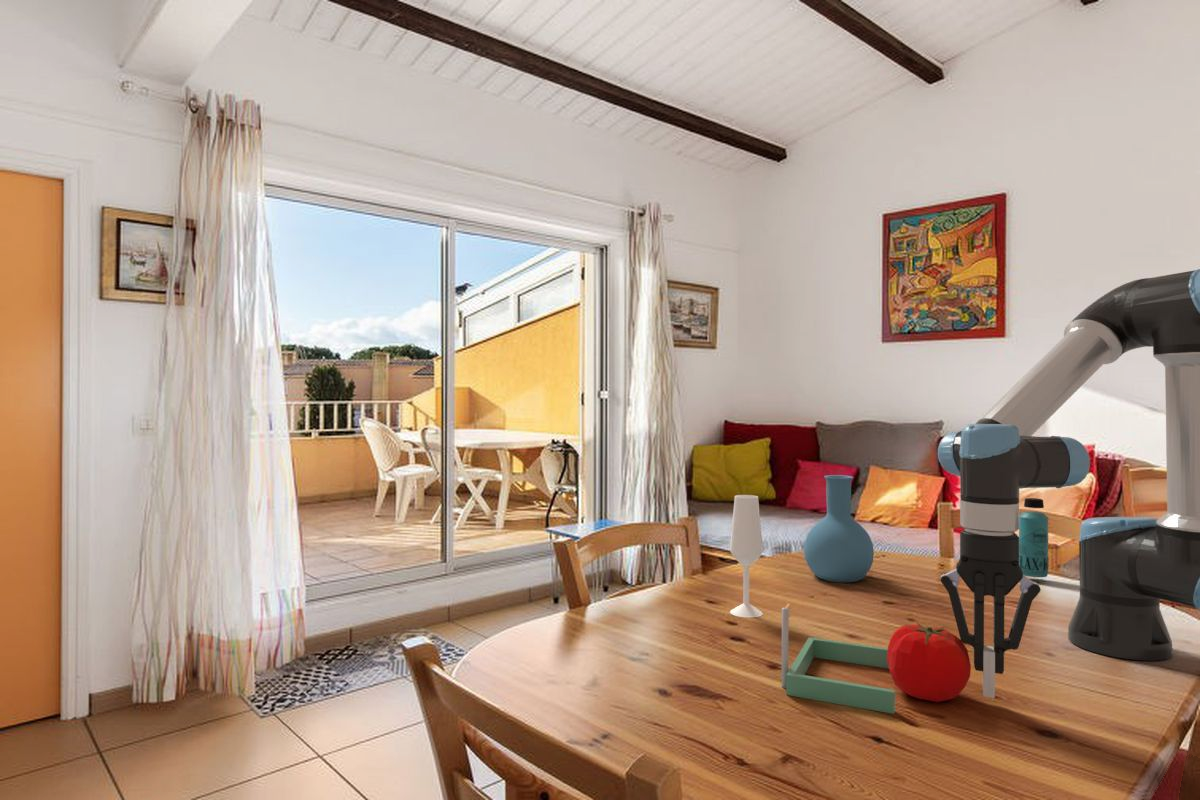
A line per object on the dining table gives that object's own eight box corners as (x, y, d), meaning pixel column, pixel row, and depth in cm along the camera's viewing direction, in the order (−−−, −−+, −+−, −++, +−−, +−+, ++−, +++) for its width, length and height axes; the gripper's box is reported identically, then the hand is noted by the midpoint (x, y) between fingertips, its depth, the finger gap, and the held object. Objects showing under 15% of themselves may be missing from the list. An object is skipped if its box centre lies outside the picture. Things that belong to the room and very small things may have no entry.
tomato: (868, 686, 112) (868, 619, 112) (923, 675, 116) (923, 610, 116) (932, 717, 101) (932, 643, 101) (990, 704, 106) (990, 633, 105)
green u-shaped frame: (902, 668, 119) (903, 595, 119) (894, 713, 102) (894, 628, 102) (801, 653, 126) (801, 584, 126) (777, 693, 109) (777, 613, 109)
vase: (880, 575, 182) (880, 475, 182) (866, 589, 168) (866, 481, 168) (814, 567, 191) (814, 471, 191) (795, 580, 177) (795, 477, 177)
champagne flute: (728, 616, 148) (728, 498, 148) (730, 607, 154) (730, 493, 154) (762, 618, 146) (762, 499, 146) (763, 609, 153) (763, 494, 153)
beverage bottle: (1011, 578, 179) (1011, 497, 179) (1032, 576, 181) (1032, 496, 181) (1034, 584, 173) (1034, 500, 173) (1055, 582, 175) (1056, 499, 175)
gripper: (1038, 530, 106) (1037, 692, 106) (939, 523, 111) (939, 677, 111) (1044, 538, 99) (1044, 712, 99) (939, 531, 105) (938, 695, 105)
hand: (988, 693), depth 105 cm, fingers closed
